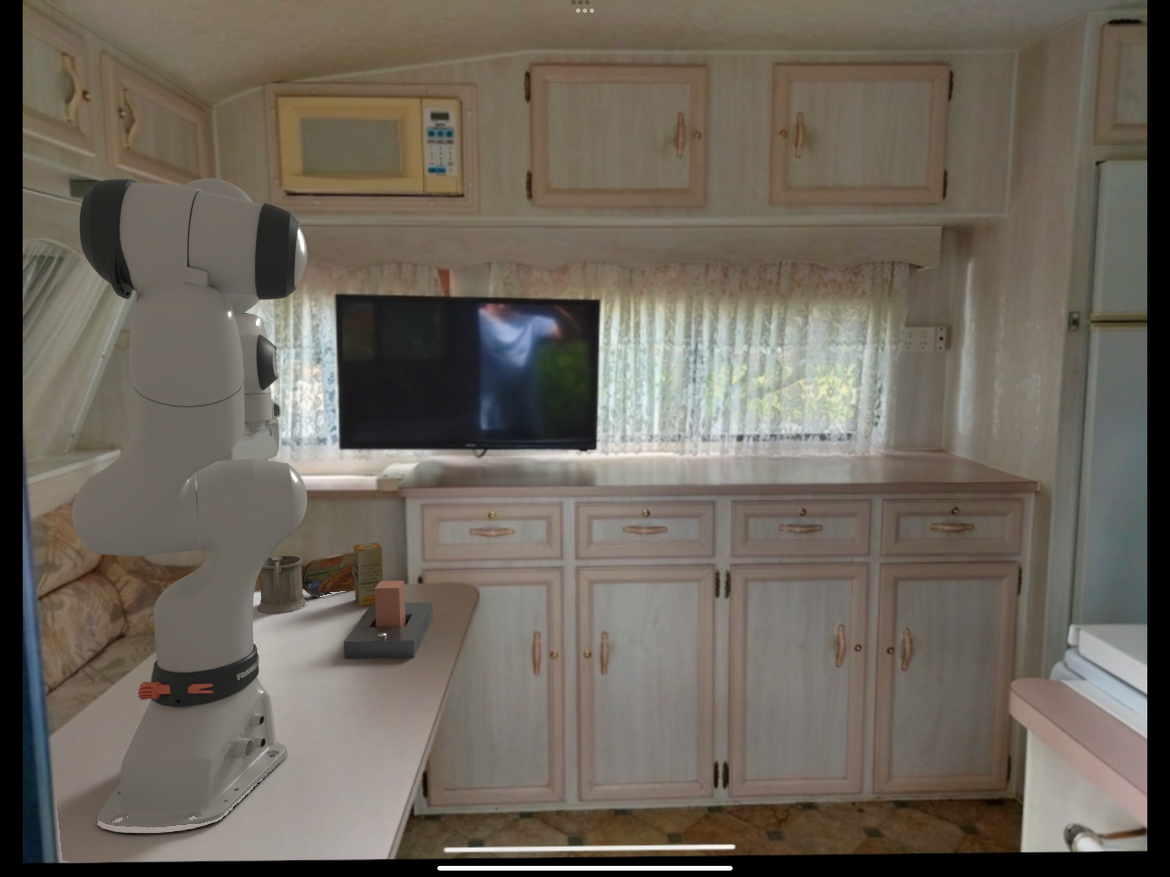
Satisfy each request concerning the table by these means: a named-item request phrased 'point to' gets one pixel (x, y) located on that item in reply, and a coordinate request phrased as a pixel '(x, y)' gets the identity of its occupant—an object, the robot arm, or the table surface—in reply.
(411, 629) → the block with square hole
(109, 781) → the table surface
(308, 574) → the tin
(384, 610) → the square peg
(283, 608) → the mug
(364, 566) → the shoe polish box
